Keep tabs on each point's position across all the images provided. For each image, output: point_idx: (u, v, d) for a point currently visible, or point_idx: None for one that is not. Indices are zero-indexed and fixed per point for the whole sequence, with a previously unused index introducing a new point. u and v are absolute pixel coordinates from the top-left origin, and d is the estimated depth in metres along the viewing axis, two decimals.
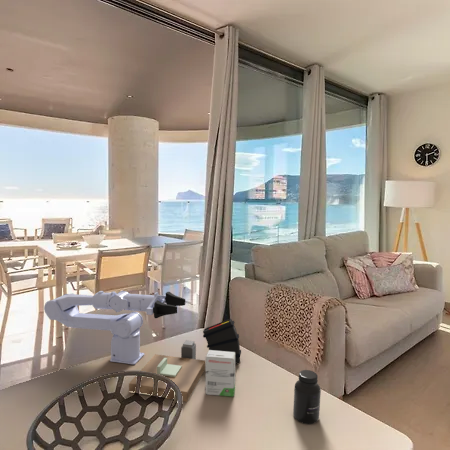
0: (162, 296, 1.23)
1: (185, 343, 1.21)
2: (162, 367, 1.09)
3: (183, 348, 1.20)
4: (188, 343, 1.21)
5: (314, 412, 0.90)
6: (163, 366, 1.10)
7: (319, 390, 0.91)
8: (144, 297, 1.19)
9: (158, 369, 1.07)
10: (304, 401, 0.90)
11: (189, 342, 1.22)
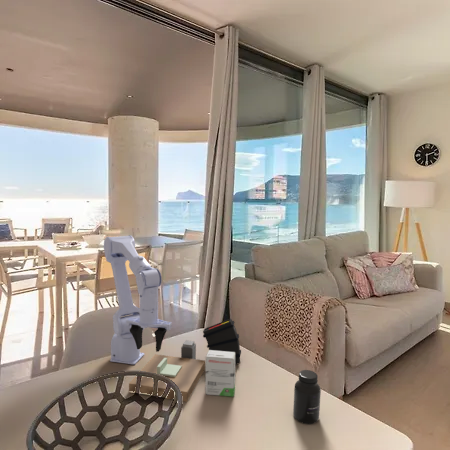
0: None
1: (185, 343, 1.21)
2: (162, 367, 1.09)
3: (183, 348, 1.20)
4: (188, 343, 1.21)
5: (314, 412, 0.90)
6: (163, 366, 1.10)
7: (319, 390, 0.91)
8: (141, 312, 1.07)
9: (158, 369, 1.07)
10: (304, 401, 0.90)
11: (189, 342, 1.22)
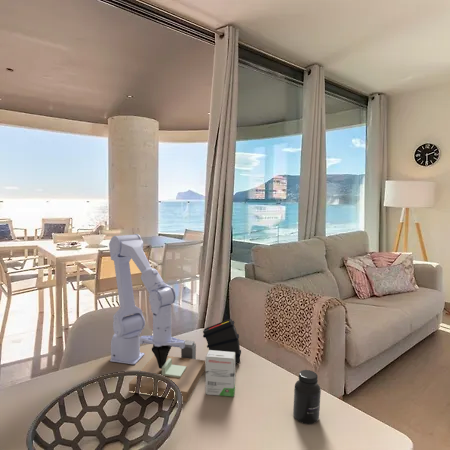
0: None
1: (185, 343, 1.21)
2: (167, 368, 1.09)
3: (183, 348, 1.20)
4: (188, 343, 1.21)
5: (314, 412, 0.90)
6: (167, 367, 1.09)
7: (319, 390, 0.91)
8: (155, 331, 1.07)
9: (163, 370, 1.07)
10: (304, 401, 0.90)
11: (189, 342, 1.22)
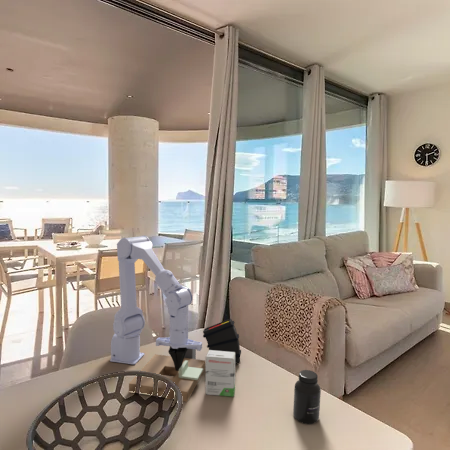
0: None
1: None
2: (184, 370, 1.08)
3: None
4: None
5: (314, 412, 0.90)
6: (184, 369, 1.08)
7: (319, 390, 0.91)
8: (172, 332, 1.06)
9: (180, 372, 1.06)
10: (304, 401, 0.90)
11: None
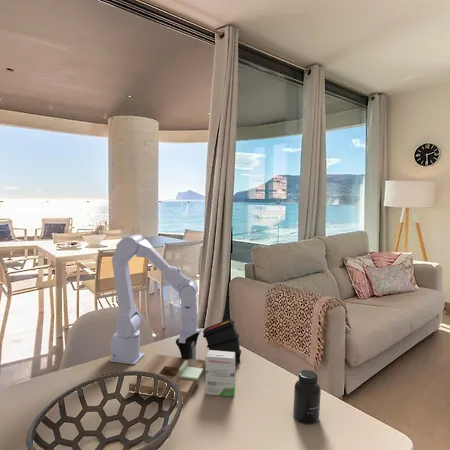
0: None
1: None
2: (184, 370, 1.08)
3: None
4: None
5: (314, 412, 0.90)
6: (184, 369, 1.08)
7: (319, 390, 0.91)
8: (194, 321, 1.19)
9: (180, 372, 1.06)
10: (304, 401, 0.90)
11: None
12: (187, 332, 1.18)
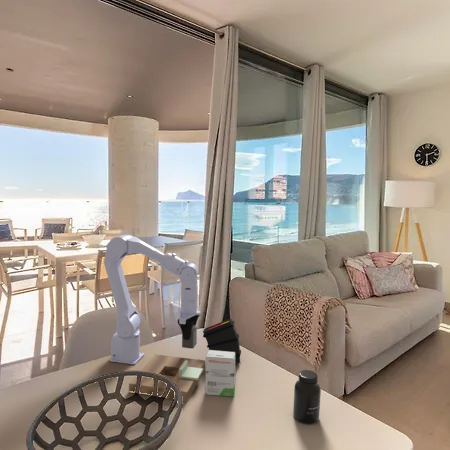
0: None
1: None
2: (184, 370, 1.08)
3: None
4: None
5: (314, 412, 0.90)
6: (184, 369, 1.08)
7: (319, 390, 0.91)
8: (194, 303, 1.19)
9: (180, 372, 1.06)
10: (304, 401, 0.90)
11: None
12: (187, 314, 1.18)
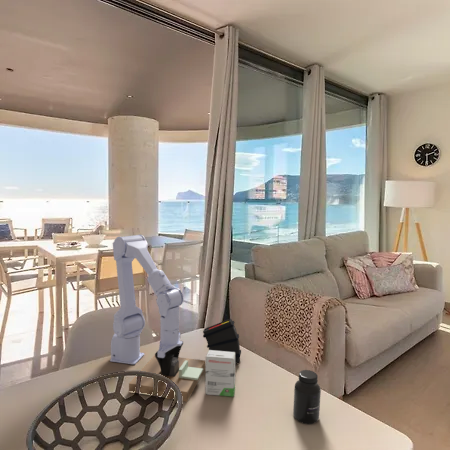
0: None
1: None
2: (184, 370, 1.08)
3: None
4: None
5: (314, 412, 0.90)
6: (184, 369, 1.08)
7: (319, 390, 0.91)
8: (175, 332, 1.07)
9: (180, 372, 1.06)
10: (304, 401, 0.90)
11: None
12: (167, 345, 1.06)
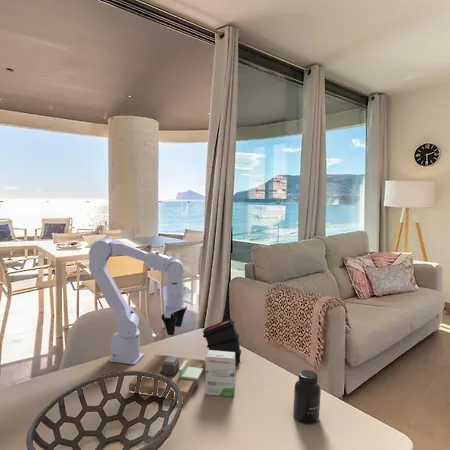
0: None
1: (167, 360, 1.09)
2: (184, 370, 1.08)
3: (164, 366, 1.08)
4: (170, 359, 1.09)
5: (314, 412, 0.90)
6: (184, 369, 1.08)
7: (319, 390, 0.91)
8: (180, 297, 1.22)
9: (180, 372, 1.06)
10: (304, 401, 0.90)
11: (171, 359, 1.10)
12: (173, 308, 1.21)
